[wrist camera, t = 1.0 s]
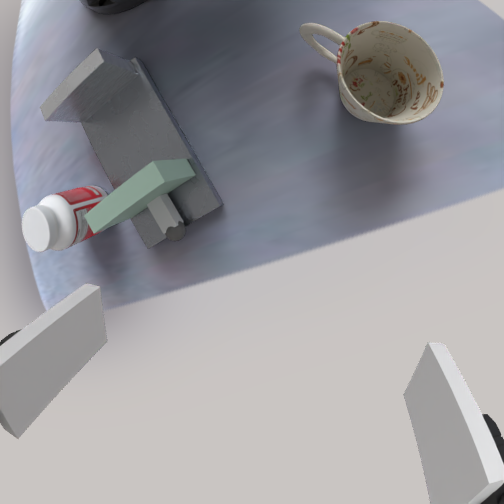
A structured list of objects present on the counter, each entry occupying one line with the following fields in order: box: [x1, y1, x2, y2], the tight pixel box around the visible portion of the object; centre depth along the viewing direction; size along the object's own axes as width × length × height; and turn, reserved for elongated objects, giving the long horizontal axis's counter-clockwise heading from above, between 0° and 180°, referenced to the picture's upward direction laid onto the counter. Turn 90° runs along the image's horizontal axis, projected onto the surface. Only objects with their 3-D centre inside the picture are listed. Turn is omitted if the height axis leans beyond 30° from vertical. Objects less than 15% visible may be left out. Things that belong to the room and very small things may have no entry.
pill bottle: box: [22, 185, 108, 252], centre depth 31 cm, size 6×6×11 cm
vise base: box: [40, 48, 223, 249], centre depth 29 cm, size 20×10×8 cm, turn 30°
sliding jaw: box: [84, 159, 196, 241], centre depth 29 cm, size 7×9×8 cm
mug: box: [299, 21, 444, 125], centre depth 22 cm, size 8×13×10 cm, turn 57°
